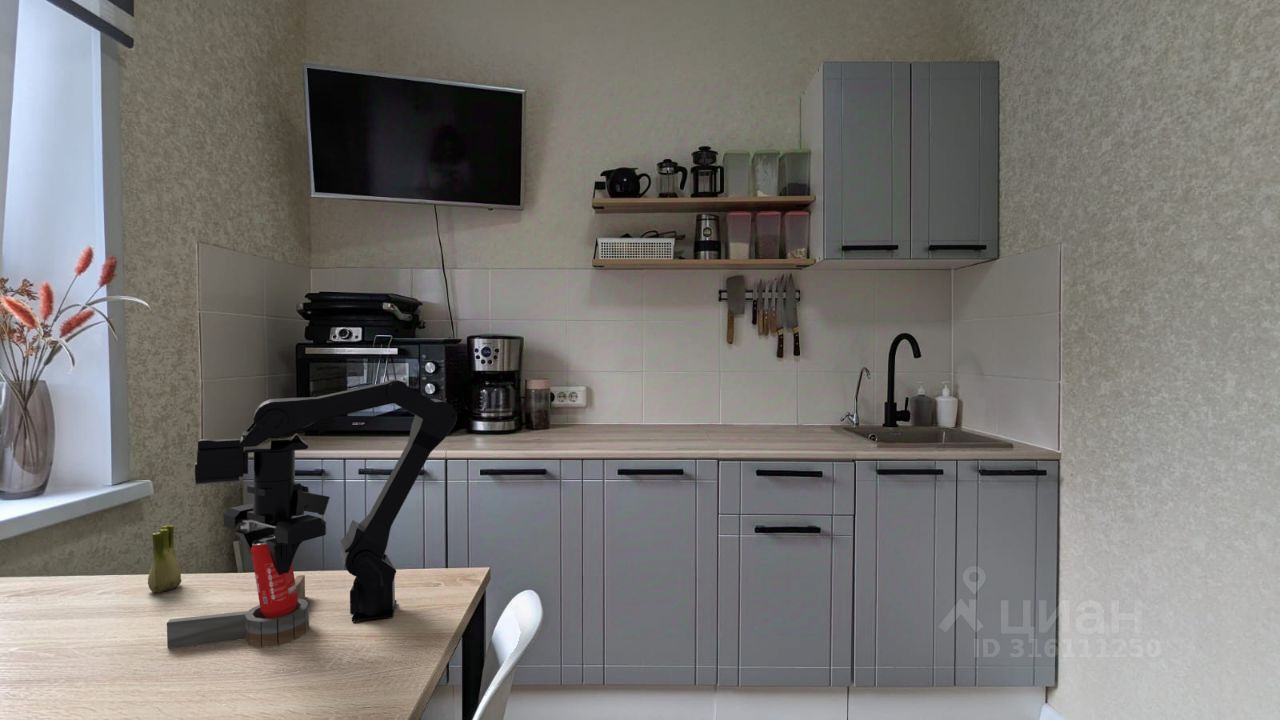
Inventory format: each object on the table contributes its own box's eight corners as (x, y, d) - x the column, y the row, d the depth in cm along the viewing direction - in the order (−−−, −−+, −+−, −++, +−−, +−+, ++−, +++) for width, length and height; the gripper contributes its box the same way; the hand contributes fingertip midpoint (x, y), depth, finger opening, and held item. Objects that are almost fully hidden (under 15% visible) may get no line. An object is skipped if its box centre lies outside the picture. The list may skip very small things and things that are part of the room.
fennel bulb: (158, 597, 115) (156, 532, 114) (138, 594, 116) (137, 530, 115) (189, 585, 120) (187, 523, 120) (169, 582, 121) (168, 521, 121)
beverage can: (281, 619, 96) (269, 544, 96) (254, 619, 98) (242, 545, 97) (306, 604, 101) (295, 532, 101) (280, 604, 103) (268, 533, 102)
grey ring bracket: (300, 642, 97) (300, 617, 97) (155, 660, 92) (155, 633, 92) (327, 594, 116) (326, 572, 115) (208, 606, 110) (207, 584, 110)
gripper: (356, 476, 102) (355, 571, 102) (289, 464, 111) (288, 551, 111) (290, 489, 92) (289, 593, 92) (221, 474, 101) (221, 570, 101)
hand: (273, 575), depth 99 cm, fingers closed on beverage can, 5 cm apart
